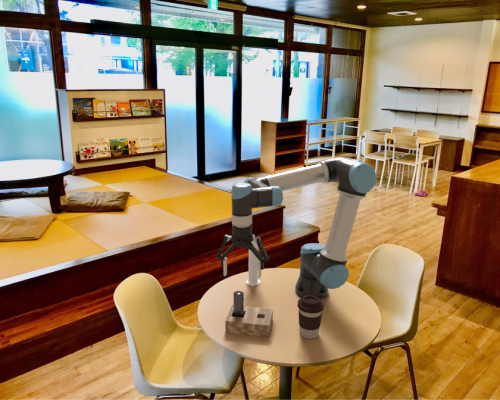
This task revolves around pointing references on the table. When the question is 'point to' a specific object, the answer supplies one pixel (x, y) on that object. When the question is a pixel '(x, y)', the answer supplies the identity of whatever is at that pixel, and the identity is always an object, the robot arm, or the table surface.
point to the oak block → (250, 321)
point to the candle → (253, 268)
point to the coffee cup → (310, 316)
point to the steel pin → (238, 304)
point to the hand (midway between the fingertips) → (242, 275)
